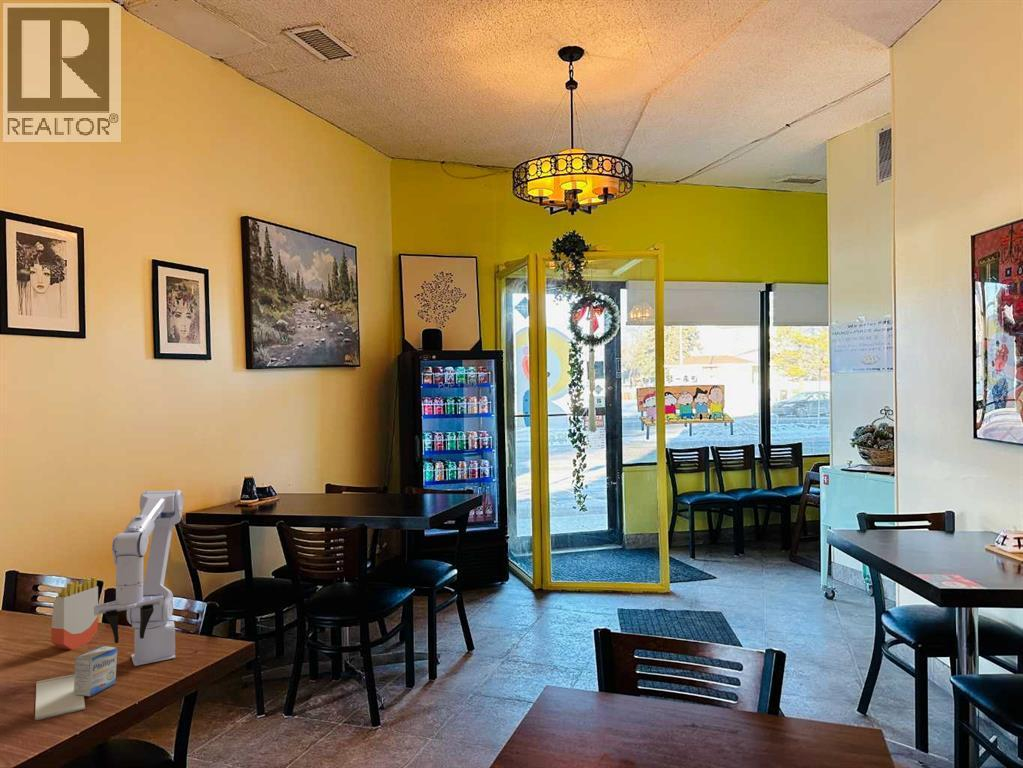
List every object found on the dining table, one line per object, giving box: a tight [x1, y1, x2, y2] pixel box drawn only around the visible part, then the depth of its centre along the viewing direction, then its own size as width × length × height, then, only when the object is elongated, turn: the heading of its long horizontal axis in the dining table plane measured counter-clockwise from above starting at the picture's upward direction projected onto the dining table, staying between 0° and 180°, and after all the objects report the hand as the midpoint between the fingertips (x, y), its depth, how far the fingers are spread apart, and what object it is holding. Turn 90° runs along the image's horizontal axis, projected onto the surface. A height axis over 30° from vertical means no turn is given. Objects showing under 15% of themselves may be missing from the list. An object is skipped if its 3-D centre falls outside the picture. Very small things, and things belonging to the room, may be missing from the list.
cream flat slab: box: [34, 673, 86, 721], centre depth 155 cm, size 9×22×1 cm, turn 34°
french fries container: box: [50, 576, 99, 651], centre depth 186 cm, size 5×11×18 cm, turn 166°
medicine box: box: [74, 645, 118, 697], centre depth 158 cm, size 8×4×9 cm, turn 169°
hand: (129, 639), depth 162 cm, fingers open, 5 cm apart
